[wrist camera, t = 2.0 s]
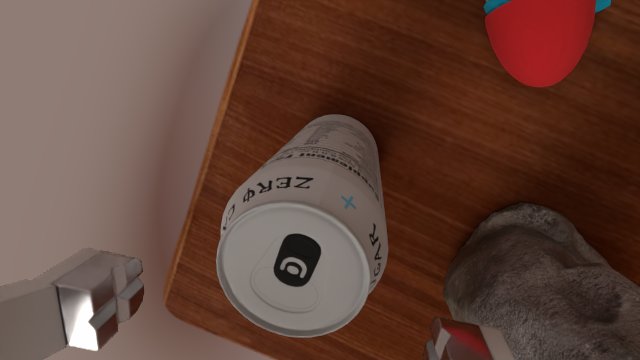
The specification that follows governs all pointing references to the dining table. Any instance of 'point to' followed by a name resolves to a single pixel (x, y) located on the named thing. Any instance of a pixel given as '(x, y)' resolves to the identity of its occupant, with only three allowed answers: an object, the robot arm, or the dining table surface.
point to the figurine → (543, 289)
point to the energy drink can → (307, 232)
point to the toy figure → (540, 36)
